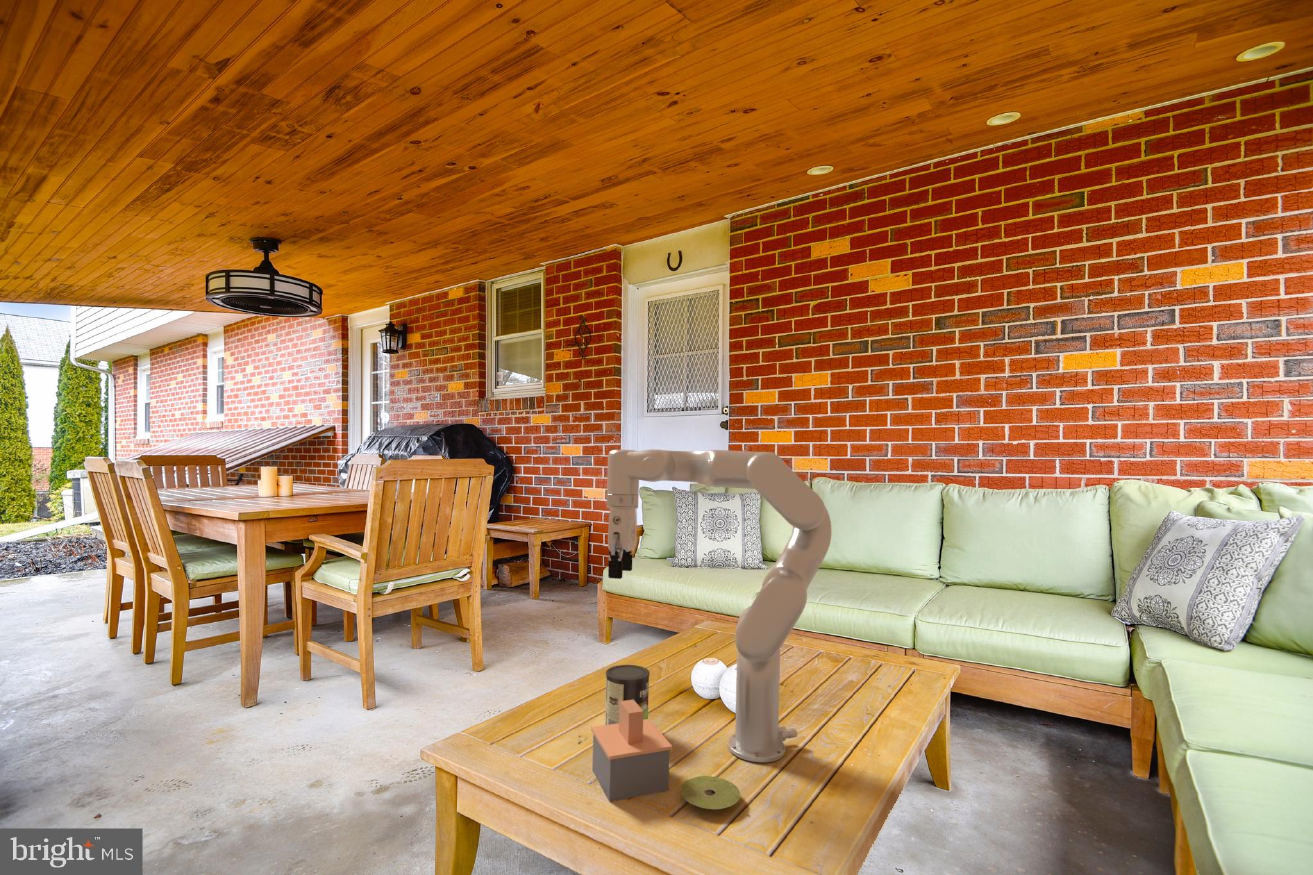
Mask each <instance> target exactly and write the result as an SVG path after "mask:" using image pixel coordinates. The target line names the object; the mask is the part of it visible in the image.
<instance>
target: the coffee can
mask: <svg viewBox="0 0 1313 875" xmlns="http://www.w3.org/2000/svg"><path fill="white" fill-rule="evenodd" d="M605 680H606V681H605V718H604V720H605V721H604V725H611V724H617V723H619V705H620V701H626V700H634V701H635V702H636V703H637V704H638V705H639V707H640V708H641V709H642V710H643V720H645V719H649V690H650V689H649V684H650V683H649V682H650V670H649V669H648V668H646V667H645V666H641V665H640V666H639V665H635V664H619V665H614V666H611V667H609V668H607V670H606V671H605Z"/></svg>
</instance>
